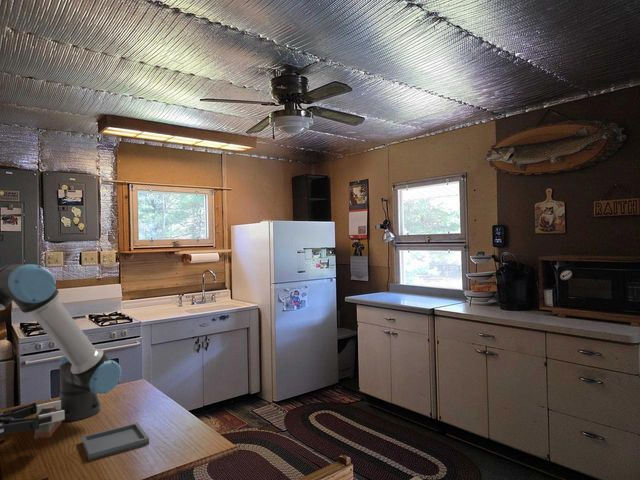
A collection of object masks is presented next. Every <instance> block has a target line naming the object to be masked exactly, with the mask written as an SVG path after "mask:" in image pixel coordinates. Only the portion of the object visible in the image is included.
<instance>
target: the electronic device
mask: <svg viewBox="0 0 640 480" xmlns="http://www.w3.org/2000/svg"><path fill="white" fill-rule="evenodd" d="M52 412H57V409H56V408H55V406H51V407H44V408H42V410H41V412H40V413H39V414H36V417H39V415H43V414H47V413H52ZM62 422H63V421H56V422H52V423H47V424H43V425H39V429H35V430H34V435H33V436H34V439H35V440H39V439H40V440H41V439H47V438H48V439H49V438H51V436H52V435H53V434H54V433H55V432H56V431H57V429H58V427H61V425H62Z"/></svg>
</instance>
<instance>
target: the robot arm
mask: <svg viewBox="0 0 640 480" xmlns="http://www.w3.org/2000/svg"><path fill="white" fill-rule="evenodd" d="M56 285H57V282H56V278H55V276H54V274H53V273H52V271H51V270H49V269H48V268H46V267H44V266H41V265H38V264H33V263H32V264H31V263H27V264H20V263H13V264H7V265H4V266H3V267H0V311H3V310H5V309H6V308H8V306H9V304H11V303H12V302H13V303H14V304H15V305H16V306H17V308H19V310H20V311H21V312H22V313H23V314H30V315H32V317H33V318H34V319H35V321H36V322H37V324H39V325H40V326H41V328H42V329H43V330H44V332H45V333H46V334H47V336H48V337H49V338H50V340H52V342H53V343H54V344H55V345H56V347H57V348H58V349H59V350H60V351H61V353H62V354H63V355H61V356H60V358H59V365H58V367H59V389H60V390H59V392H60V394H59V399H58V400H56V401H51V402H46V403H41V404H37V402H32V403H30V404H27V405H22V406H20V407H15V408H11V409H8V410H4V411H0V436H3V435H9V434H15V433H21V432H26V431H33V430H34V431H35V429H39V425H43V424H47V423H52V422H56V421H62V422H71V421H72V422H73V421H79V420H82V419H86V418H89V417H92V416H94V415H96V414H98V413H99V412H100V411H101V408H102V406H101V405H102V403H101V400H100V397H99V396H98V395H104V394H105V395H106V394H109V392H111V391H112V390H114V389H115V388H117V386H118V384H119V383H120V380H121V376H122V367H121V365H120V364H119V363H118V362H117V361H116V360H111V359H110V358H109V357H108V356H107V354H106V353H105V351H104V350H103V349H101V348H96V347H95V346H94V345H93V343H92V342H91V341H90V339H89V338H88V336H87V335H86V334H85V333H84V332H83V330H82V329H81V327H80V326H79V325H78V324H77V322H76V321H75V320H74V318H73V317H72V315H70V313H69V312H68V310H67V308H65V306H64V305H63V304H62V302H61V301H60V299H59V298H58V297H59V293H60V291H59V290H58V288H57V287H56ZM51 406H55V408H56V409H57V412H52V413H47V414H43V415H39V417H37V416H35V417H30V416H33V415H38V414H39V413H40V412H41V410H42V408H44V407H51Z"/></svg>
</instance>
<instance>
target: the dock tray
mask: <svg viewBox="0 0 640 480" xmlns="http://www.w3.org/2000/svg"><path fill="white" fill-rule="evenodd" d="M81 443H82V446H83V449H84V451H85V454H86V457H87V459H88V462H92V461H95V460H97V459H101V458H106V457H109V456H113V455H116V454H119V453H123V452H124V453H125V452H127V451H130V450H133V449H138V448H141V447H145V446H148V445H150V437H149V435H147V433H146V432H145V431H144V429H143V428H142V426H141V425H140V424H139V423H138V422H134V423H130V424H127V425H121V426H118V427H114V428H110V429H106V430H102V431H96V432H94V433H90V434H86V435H82V436H81Z"/></svg>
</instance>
